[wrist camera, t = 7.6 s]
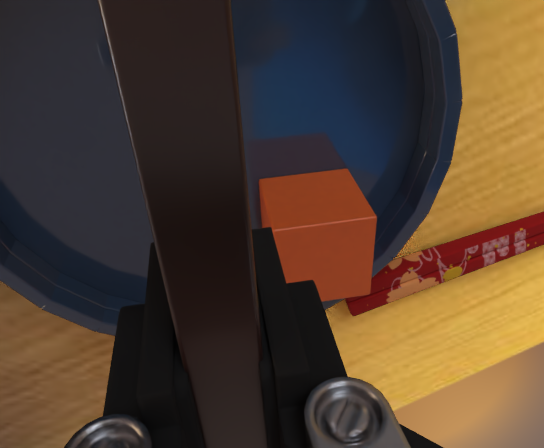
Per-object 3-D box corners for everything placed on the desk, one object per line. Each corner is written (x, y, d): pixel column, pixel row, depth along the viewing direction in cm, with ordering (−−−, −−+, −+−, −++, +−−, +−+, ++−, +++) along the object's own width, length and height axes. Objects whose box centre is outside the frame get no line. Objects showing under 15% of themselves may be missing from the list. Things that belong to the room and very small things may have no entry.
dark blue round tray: (-198, -155, 12) (-268, -165, 10) (472, -188, 13) (518, -201, 12) (37, 334, 21) (23, 373, 20) (405, 279, 23) (425, 311, 21)
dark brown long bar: (-5, -561, 3) (-85, -755, 2) (170, -556, 3) (162, -738, 2) (242, 587, 15) (246, 637, 14) (281, 579, 15) (288, 628, 14)
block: (258, 178, 18) (272, 230, 15) (347, 167, 18) (378, 216, 16) (263, 251, 20) (277, 309, 17) (344, 239, 20) (370, 295, 18)
